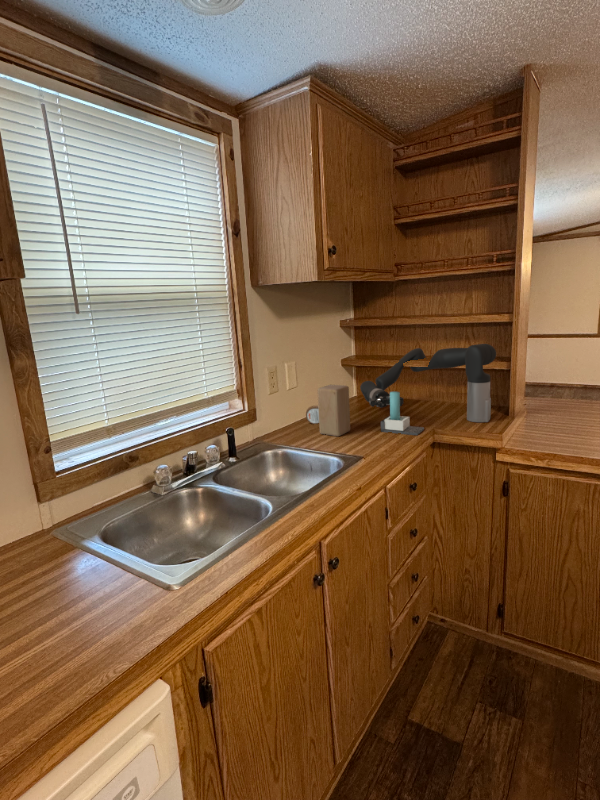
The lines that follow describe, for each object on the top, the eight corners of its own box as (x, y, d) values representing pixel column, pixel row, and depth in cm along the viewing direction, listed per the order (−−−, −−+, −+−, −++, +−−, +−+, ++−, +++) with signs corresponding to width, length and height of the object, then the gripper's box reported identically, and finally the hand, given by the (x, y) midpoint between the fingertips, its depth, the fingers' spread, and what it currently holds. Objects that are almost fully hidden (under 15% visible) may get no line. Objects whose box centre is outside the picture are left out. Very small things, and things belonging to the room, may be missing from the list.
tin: (338, 422, 209) (337, 404, 208) (338, 423, 206) (337, 405, 205) (306, 423, 211) (305, 405, 209) (305, 424, 208) (304, 407, 206)
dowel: (401, 424, 191) (400, 391, 188) (398, 426, 187) (397, 393, 184) (392, 423, 193) (391, 391, 190) (388, 425, 189) (388, 393, 186)
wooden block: (338, 437, 185) (336, 389, 181) (318, 434, 191) (316, 388, 187) (351, 431, 193) (349, 385, 189) (331, 428, 199) (329, 384, 195)
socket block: (409, 425, 191) (409, 416, 190) (403, 430, 184) (403, 421, 183) (391, 424, 195) (391, 415, 194) (384, 429, 189) (384, 419, 188)
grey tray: (423, 429, 188) (423, 419, 187) (417, 435, 181) (417, 424, 180) (388, 426, 197) (388, 416, 196) (380, 431, 189) (380, 421, 188)
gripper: (364, 390, 205) (375, 397, 190) (394, 388, 207) (407, 394, 191) (364, 406, 207) (375, 414, 191) (394, 404, 209) (407, 411, 193)
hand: (391, 404), depth 191 cm, fingers open, 8 cm apart
